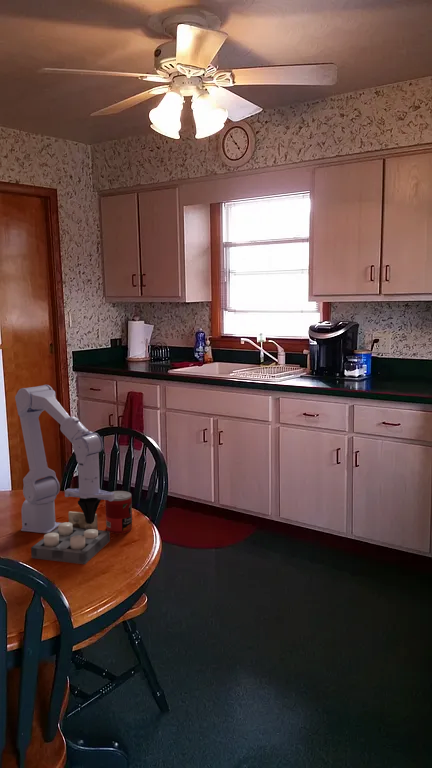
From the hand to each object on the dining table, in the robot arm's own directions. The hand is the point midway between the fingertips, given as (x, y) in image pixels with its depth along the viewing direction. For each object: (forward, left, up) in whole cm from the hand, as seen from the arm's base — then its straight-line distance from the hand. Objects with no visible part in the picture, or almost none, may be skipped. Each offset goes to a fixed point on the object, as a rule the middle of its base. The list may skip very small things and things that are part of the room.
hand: (90, 522), depth 175 cm
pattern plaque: (-6, +7, -7) cm, 11 cm away
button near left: (-8, -8, -4) cm, 12 cm away
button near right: (0, -8, -4) cm, 9 cm away
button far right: (0, 0, -6) cm, 6 cm away
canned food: (+3, +13, -7) cm, 15 cm away
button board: (-4, -4, -7) cm, 9 cm away
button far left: (-8, 0, -4) cm, 9 cm away
